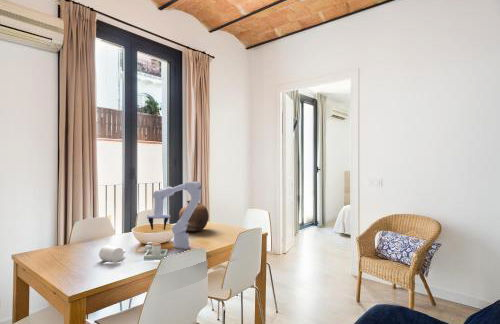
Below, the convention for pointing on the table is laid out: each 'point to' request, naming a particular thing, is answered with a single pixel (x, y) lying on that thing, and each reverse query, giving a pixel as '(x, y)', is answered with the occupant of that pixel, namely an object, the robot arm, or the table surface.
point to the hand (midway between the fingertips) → (158, 229)
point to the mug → (111, 253)
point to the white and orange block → (156, 248)
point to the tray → (155, 255)
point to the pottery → (196, 217)
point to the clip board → (147, 247)
